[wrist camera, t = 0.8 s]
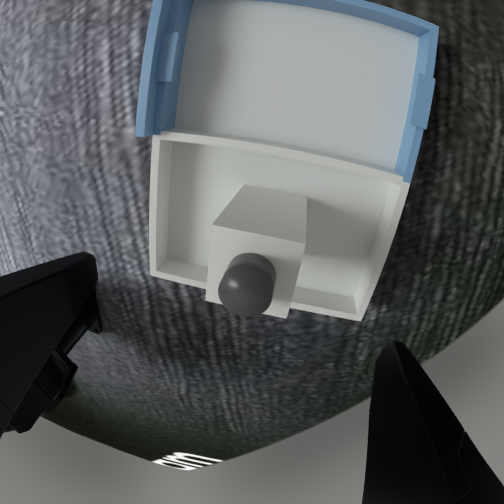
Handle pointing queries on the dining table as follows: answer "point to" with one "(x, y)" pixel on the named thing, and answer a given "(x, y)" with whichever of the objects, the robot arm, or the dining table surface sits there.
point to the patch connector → (257, 252)
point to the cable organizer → (285, 130)
